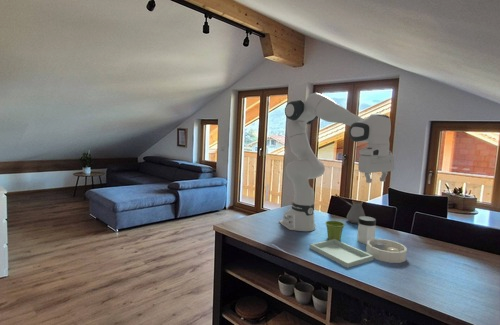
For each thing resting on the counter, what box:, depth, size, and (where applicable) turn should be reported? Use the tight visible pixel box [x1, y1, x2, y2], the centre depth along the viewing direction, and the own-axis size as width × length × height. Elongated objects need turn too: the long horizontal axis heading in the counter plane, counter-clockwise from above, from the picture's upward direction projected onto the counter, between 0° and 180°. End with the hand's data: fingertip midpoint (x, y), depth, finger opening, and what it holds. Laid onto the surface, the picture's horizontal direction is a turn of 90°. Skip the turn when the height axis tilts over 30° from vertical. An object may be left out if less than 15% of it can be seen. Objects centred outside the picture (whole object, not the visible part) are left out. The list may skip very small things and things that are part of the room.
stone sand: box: [387, 247, 399, 252], centre depth 128 cm, size 4×4×4 cm
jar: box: [356, 215, 377, 246], centre depth 147 cm, size 9×8×12 cm
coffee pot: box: [333, 194, 366, 225], centre depth 184 cm, size 21×12×15 cm, turn 45°
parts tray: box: [309, 239, 374, 269], centre depth 130 cm, size 22×16×2 cm
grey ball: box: [374, 242, 385, 250], centre depth 133 cm, size 4×4×4 cm
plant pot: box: [325, 220, 345, 241], centre depth 149 cm, size 9×9×9 cm
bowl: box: [365, 238, 408, 264], centre depth 130 cm, size 16×16×5 cm
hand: (375, 181), depth 129 cm, fingers open, 8 cm apart
